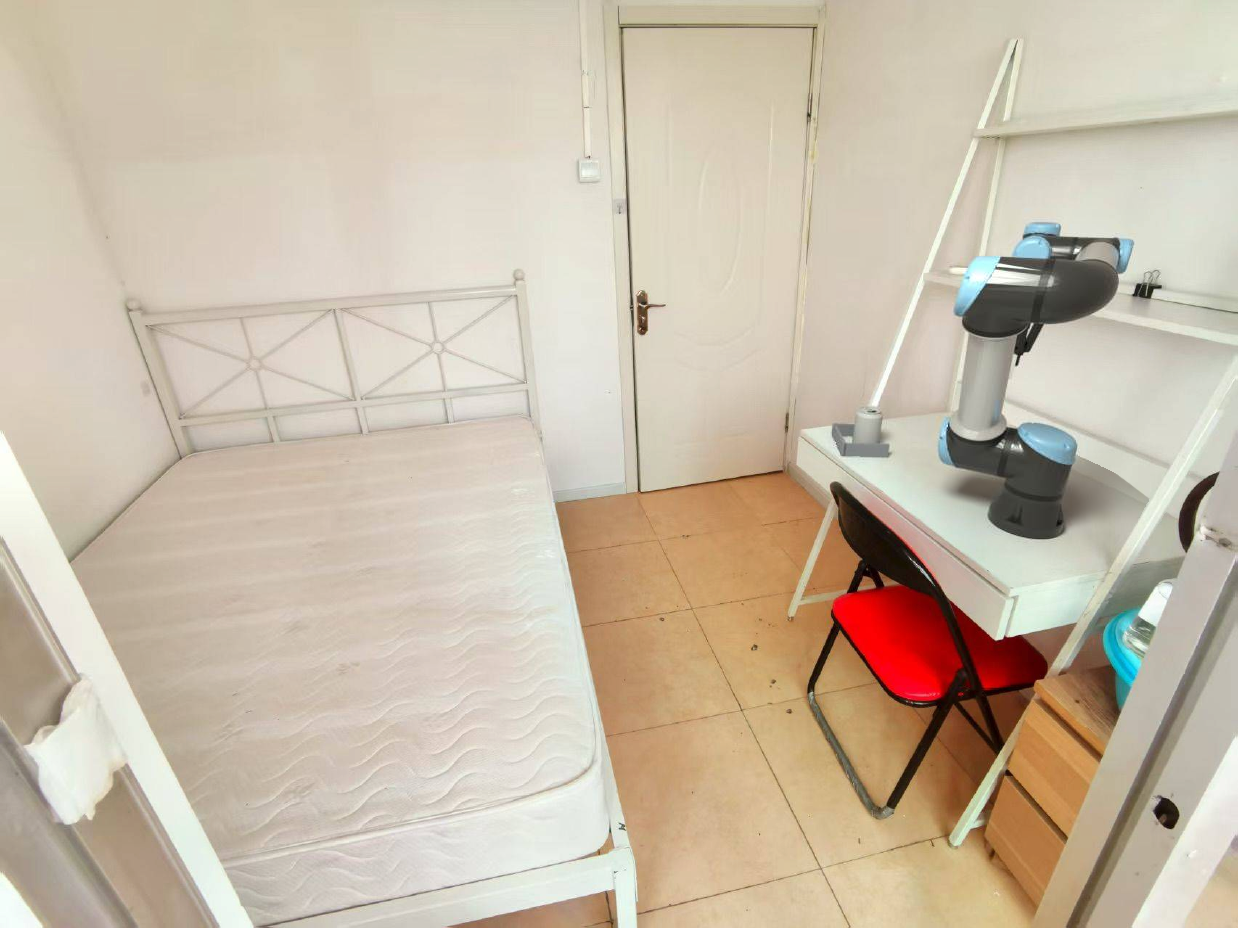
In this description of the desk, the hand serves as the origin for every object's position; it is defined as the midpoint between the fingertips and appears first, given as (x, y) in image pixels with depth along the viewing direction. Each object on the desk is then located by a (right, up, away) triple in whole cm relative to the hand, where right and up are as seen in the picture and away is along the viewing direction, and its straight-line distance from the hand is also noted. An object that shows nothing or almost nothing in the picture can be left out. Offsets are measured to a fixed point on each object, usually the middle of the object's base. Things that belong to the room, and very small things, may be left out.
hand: (1006, 377), depth 169 cm
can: (-30, -18, +22) cm, 41 cm away
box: (-32, -18, +22) cm, 42 cm away
